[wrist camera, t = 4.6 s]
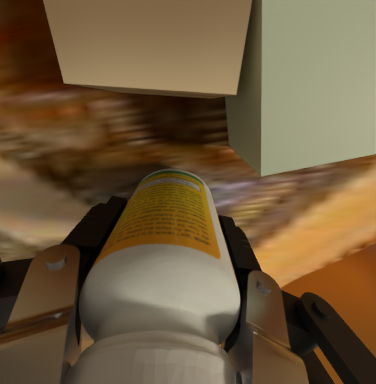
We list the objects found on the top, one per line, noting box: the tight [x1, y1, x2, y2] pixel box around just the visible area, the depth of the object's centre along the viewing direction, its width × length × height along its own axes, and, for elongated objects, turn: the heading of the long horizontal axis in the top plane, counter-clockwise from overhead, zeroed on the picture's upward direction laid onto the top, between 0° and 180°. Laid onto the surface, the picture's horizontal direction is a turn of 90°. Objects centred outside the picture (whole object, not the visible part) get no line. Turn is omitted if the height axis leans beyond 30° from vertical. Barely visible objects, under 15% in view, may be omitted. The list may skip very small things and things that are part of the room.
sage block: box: [225, 0, 376, 176], centre depth 7 cm, size 5×5×5 cm
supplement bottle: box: [64, 168, 240, 384], centre depth 7 cm, size 5×5×10 cm
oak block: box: [43, 0, 252, 99], centre depth 6 cm, size 5×5×5 cm
